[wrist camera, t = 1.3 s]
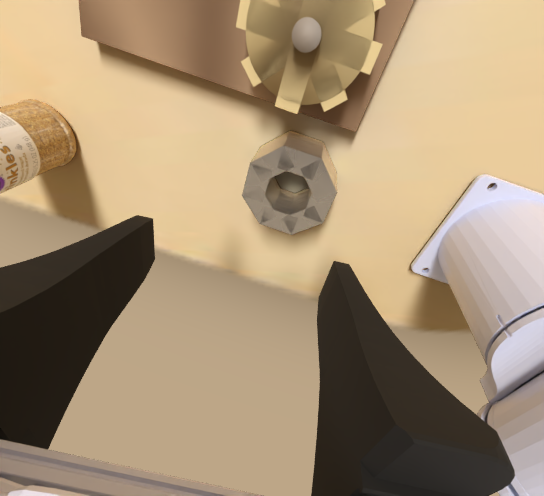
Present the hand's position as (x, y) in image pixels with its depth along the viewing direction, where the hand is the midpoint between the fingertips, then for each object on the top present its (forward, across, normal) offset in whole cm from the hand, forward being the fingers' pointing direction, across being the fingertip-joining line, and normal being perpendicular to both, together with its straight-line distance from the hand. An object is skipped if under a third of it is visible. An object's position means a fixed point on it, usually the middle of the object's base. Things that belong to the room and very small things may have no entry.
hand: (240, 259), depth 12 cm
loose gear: (+10, -2, 0) cm, 10 cm away
